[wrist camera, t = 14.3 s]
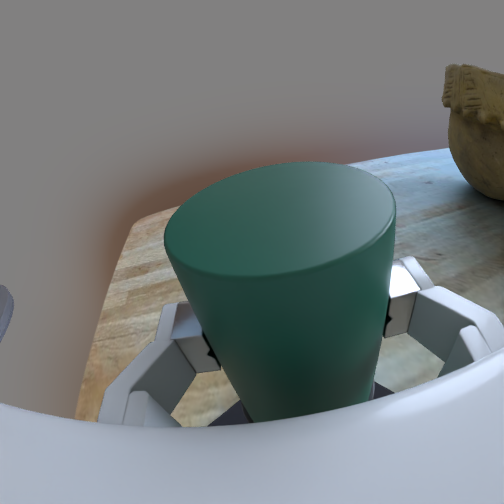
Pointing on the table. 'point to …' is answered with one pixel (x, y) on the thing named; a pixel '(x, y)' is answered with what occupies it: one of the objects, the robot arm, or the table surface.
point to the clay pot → (476, 126)
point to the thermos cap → (290, 282)
